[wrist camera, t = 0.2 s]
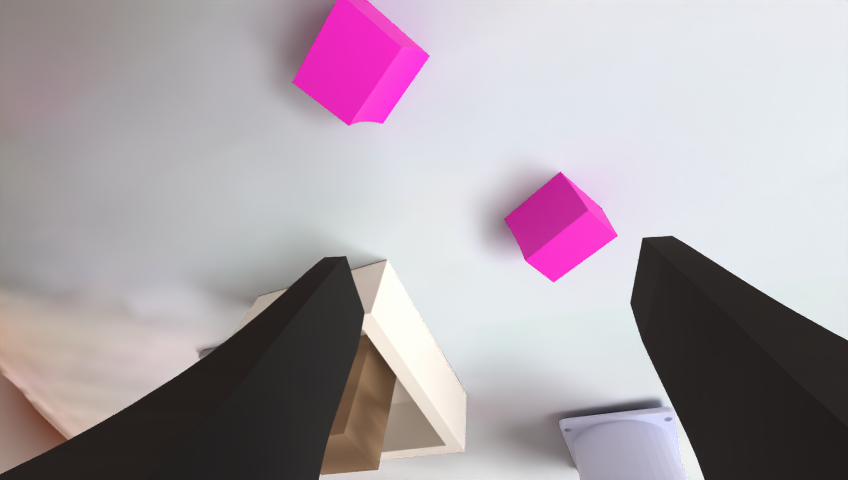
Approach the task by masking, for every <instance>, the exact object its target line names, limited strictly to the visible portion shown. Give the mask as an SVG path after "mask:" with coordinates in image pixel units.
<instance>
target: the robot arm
mask: <svg viewBox="0 0 848 480" xmlns="http://www.w3.org/2000/svg"><path fill="white" fill-rule="evenodd" d="M630 304H631V307H632V310H633V314H634V317H635V320H636V324H637V327H638V330H639V333H640V336H641V339H642V342H643V344H644V346H645V348H646V350H647V353H648V355H649V357H650V359H651V361H652V363H653V365H654V367H655V369H656V372H657V374H658V376H659V378H660V380H661V382H662V384H663V386H664V388H665V390H666V392H667V395H668V397H669V399H670V401H671V403H672V405H673V407H674V409H675V411H676V413H677V415H678V417H679V419H680V422H681V424H682V426H683V428H684V430H685V432H686V434H687V436H688V439H689V441H690V443H691V446H692V448H693V450H694V453H695V455H696V457H697V460H698V463H699V465H700V468H701V471H702V474H703V476H704V479H705V480H848V340H846V339H844V338H842V337H840V336H838V335H836V334H835V333H833V332H831V331H829V330H827V329H825V328H824V327H822V326H820V325H818V324H817V323H815V322H813V321H811V320H809V319H808V318H806V317H804V316H802V315H800V314H799V313H797V312H795V311H793V310H791V309H790V308H788V307H786V306H785V305H783V304H781V303H780V302H778V301H776V300H774V299H773V298H771V297H769V296H768V295H766V294H764V293H763V292H761V291H760V290H758V289H756V288H755V287H753V286H751V285H750V284H748V283H747V282H745V281H743V280H742V279H740V278H739V277H737V276H735V275H734V274H732V273H731V272H729V271H727V270H726V269H724V268H723V267H721V266H720V265H718V264H717V263H715V262H713V261H712V260H710V259H709V258H707V257H706V256H704V255H703V254H701V253H699V252H698V251H696V250H695V249H693V248H692V247H690V246H688V245H687V244H685V243H683V242H682V241H680V240H678V239H677V238H675V237H673V236H663V237H647V238H643V239H642V244H641V250H640V255H639V260H638V265H637V271H636V276H635V281H634V286H633V292H632V297H631V302H630ZM364 314H365V311H364V308H363V305H362V302H361V299H360V296H359V294H358V291H357V288H356V285H355V282H354V279H353V276H352V273H351V270H350V267H349V264H348V261H347V258H346V256H342V257H325V258H323V259H322V260H321V261H319V262H318V263H317V264H316V265H314V266H313V267H312V268H311V269H310V270H309V271H307V272H306V273H305V274H304V275H303V276H302V277H301V278H300V279H298V280H297V281H296V282H295V283H294V284H293V285H292V286H291V287H290V288H288V289H287V290H286V291H285V292H284V293H283V294H282V295H280V296H279V297H278V298H277V299H276V300H275V301H274V302H273V303H271V304H270V305H269V306H268V307H267V308H266V309H265V310H263V311H262V312H261V313H260V314H259V315H257V316H256V317H255V318H254V319H252V320H251V321H250V322H249V323H248V324H246V325H245V326H244V327H243V328H241V329H240V330H239V331H238V332H237V333H235V334H234V335H233V336H232V337H230V338H229V339H228V340H227V341H225V342H224V343H223V344H221V345H220V346H219V347H217V348H216V349H215V350H213V351H212V352H211V353H209V354H208V355H207V356H205V357H204V358H202V359H201V360H200V361H198V362H197V363H195V364H194V365H192V366H191V367H190V368H188V369H187V370H185V371H184V372H182V373H181V374H179V375H178V376H176V377H175V378H173V379H172V380H170V381H168V382H167V383H165V384H164V385H162V386H160V387H159V388H157V389H156V390H154V391H153V392H151V393H149V394H148V395H146V396H145V397H143V398H141V399H140V400H138V401H137V402H135V403H133V404H132V405H130V406H129V407H127V408H125V409H123V410H122V411H120V412H118V413H117V414H115V415H113V416H111V417H110V418H108V419H106V420H104V421H103V422H101V423H99V424H97V425H95V426H94V427H92V428H90V429H88V430H86V431H84V432H83V433H81V434H79V435H77V436H75V437H73V438H72V439H70V440H68V441H66V442H64V443H62V444H60V445H58V446H56V447H55V448H53V449H51V450H49V451H47V452H45V453H43V454H41V455H39V456H37V457H35V458H33V459H31V460H29V461H27V462H25V463H22V464H20V465H18V466H16V467H14V468H12V469H11V470H9V471H6V472H4V473H2V474H0V480H319V476H320V471H321V467H322V463H323V458H324V454H325V450H326V445H327V442H328V438H329V435H330V431H331V428H332V425H333V422H334V419H335V416H336V413H337V410H338V407H339V404H340V401H341V398H342V395H343V392H344V389H345V386H346V383H347V380H348V377H349V374H350V371H351V368H352V365H353V362H354V359H355V356H356V353H357V349H358V346H359V341H360V336H361V331H362V326H363V320H364ZM559 427H560V429H561V432H562V434H563V436H564V439H565V441H566V444H567V446H568V449H569V451H570V453H571V456H572V458H573V461H574V463H575V465H576V468H577V470H578V473H579V477H580V480H689V478H688V476H687V473H686V471H685V469H684V466H683V464H682V461H681V455H680V447H679V440H678V432H677V425H676V417H675V413H674V411H673V409H672V408H670V407H659V408H650V409H642V410H633V411H625V412H616V413H608V414H599V415H591V416H582V417H574V418H565V419H561V420H560V421H559Z"/></svg>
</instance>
